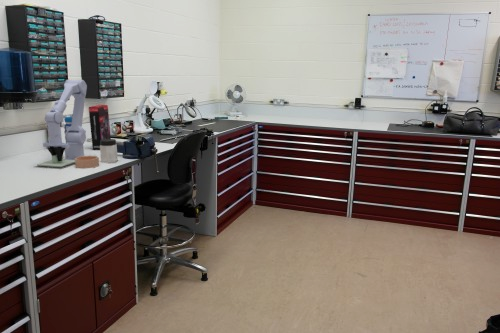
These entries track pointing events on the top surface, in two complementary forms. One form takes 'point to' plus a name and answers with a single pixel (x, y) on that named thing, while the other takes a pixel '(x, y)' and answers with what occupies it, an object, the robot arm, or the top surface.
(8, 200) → the top surface
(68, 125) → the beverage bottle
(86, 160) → the bowl
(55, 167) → the mat
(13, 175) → the top surface
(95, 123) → the graphics card box
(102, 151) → the jar
